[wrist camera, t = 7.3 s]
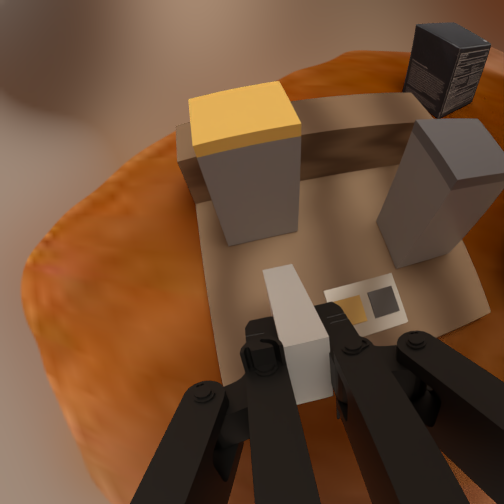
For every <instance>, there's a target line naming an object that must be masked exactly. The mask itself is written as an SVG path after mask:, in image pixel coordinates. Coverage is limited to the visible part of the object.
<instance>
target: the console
mask: <svg viewBox="0 0 504 504" xmlns="http://www.w3.org/2000/svg"><path fill="white" fill-rule="evenodd" d="M291 104H292V106H293V108H294V110H295V112H296V114H297V116H298V118H299V120H300V122H301V164H300V192H299V215H298V231H296V232H291V233H287V234H282V235H277V236H273V237H268V238H264V239H259V240H255V241H250V242H246V243H242V244H237V245H233V246H228V243H227V241H226V238H225V235H224V232H223V230H222V227H221V224H220V221H219V219H218V216H217V213H216V210H215V208H214V205H213V202H212V199H211V196H210V194H209V191H208V188H207V185H206V182H205V180H204V177H203V174H202V171H201V168H200V166H199V163H198V160H197V157H196V154H195V151H194V148H193V145H192V134H191V123H190V122H189V123H185V124H181V125H178V126H176V145H177V162H178V165H179V167H180V169H181V172H182V174H183V176H184V179H185V181H186V183H187V185H188V188H189V190H190V192H191V195H192V197H193V199H194V202H195V204H196V212H197V220H198V228H199V236H200V244H201V252H202V259H203V266H204V274H205V281H206V288H207V294H208V301H209V307H210V314H211V320H212V326H213V332H214V338H215V344H216V350H217V356H218V361H219V367H220V372H221V378H222V383H223V387H224V386H226V385H229V384H231V383H233V382H235V381H237V380H239V379H240V378H241V377H242V376H243V375H244V374H245V370H244V367H243V363H242V360H241V357H240V350H241V348H242V346H243V345H244V344H245V343H246V336H245V327H246V325H247V324H248V322H249V321H250V320H255V319H260V318H265V317H270V316H272V315H271V310H270V305H269V300H268V295H267V290H266V285H265V280H264V275H263V270H265V269H270V268H275V267H279V266H284V265H289V264H292V265H293V267H294V269H295V270H296V272H297V274H298V276H299V278H300V280H301V282H302V284H303V286H304V288H305V290H306V292H307V294H308V296H309V298H310V300H311V302H312V304H313V306H315V305H319V304H323V303H328V302H334V303H335V304H337V305H339V306H340V307H341V308H342V310H343V311H344V313H345V314H346V316H347V317H348V319H349V320H350V322H351V323H352V325H353V326H354V328H355V329H356V331H357V333H358V334H359V336H361V337H364V338H367V339H369V340H370V341H371V342H372V343H373V345H375V346H390V345H397V341H398V338H399V337H400V336H401V335H402V334H404V333H406V332H409V331H416V330H417V331H424V332H427V333H429V334H431V335H432V336H434V337H435V338H437V337H439V336H442V335H444V334H446V333H449V332H451V331H453V330H455V329H458V328H460V327H462V326H464V325H466V324H468V323H471V322H473V321H475V320H477V319H479V318H481V317H483V316H485V315H486V314H488V313H490V312H491V310H490V307H489V304H488V302H487V299H486V296H485V293H484V291H483V288H482V285H481V283H480V280H479V278H478V275H477V273H476V270H475V268H474V265H473V263H472V261H471V258H470V256H469V254H468V252H467V249H466V247H465V245H464V243H463V241H462V240H461V241H460V242H459V243H458V244H457V245H456V246H455V247H454V248H453V249H452V251H451V252H450V253H448V254H445V255H442V256H438V257H435V258H432V259H429V260H425V261H422V262H419V263H415V264H412V265H408V266H405V267H401V268H398V269H396V268H395V265H394V263H393V260H392V258H391V255H390V253H389V250H388V248H387V245H386V243H385V240H384V238H383V236H382V233H381V231H380V229H379V226H378V224H377V222H376V220H377V218H378V216H379V213H380V211H381V209H382V206H383V204H384V202H385V199H386V197H387V194H388V192H389V190H390V187H391V185H392V182H393V180H394V177H395V175H396V172H397V170H398V167H399V164H400V162H401V159H402V157H403V154H404V151H405V148H406V146H407V143H408V140H409V137H410V135H411V132H412V129H413V126H414V123H415V120H421V119H433V117H432V116H431V115H430V114H429V113H428V111H427V110H426V109H425V108H424V107H423V105H422V104H421V103H420V102H419V101H418V100H417V99H416V97H415V96H414V95H413V94H412V93H374V94H357V95H344V96H333V97H323V98H314V99H306V100H299V101H292V102H291Z"/></svg>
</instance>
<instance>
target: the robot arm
mask: <svg viewBox="0 0 504 504" xmlns="http://www.w3.org/2000/svg"><path fill="white" fill-rule="evenodd" d="M263 275H264V280H265V285H266V290H267V295H268V300H269V305H270V310H271V315H272V316H270V317H265V318H260V319H255V320H250V321H249V322H248V324H247V325H246V327H245V336H246V343H245V344H244V345H243V346H242V348H241V350H240V357H241V360H242V363H243V367H244V370H245V374H244V375H243V376H242V377H241V378H240V379H239V380H237V381H235V382H233V383H231V384H229V385H226V386H224V387H223V386H222V385H221V384H220V383H218V382H215V381H202V382H200V383H197V384H194V385H193V386H191V387H190V388H189V389H188V390H187V391H186V392H185V394H184V396H183V398H182V400H181V402H180V404H179V406H178V408H177V410H176V412H175V414H174V416H173V418H172V420H171V422H170V424H169V426H168V428H167V430H166V432H165V434H164V436H163V438H162V440H161V442H160V444H159V446H158V448H157V450H156V452H155V454H154V456H153V458H152V460H151V462H150V464H149V466H148V468H147V470H146V473H145V475H144V477H143V479H142V481H141V483H140V485H139V487H138V489H137V491H136V493H135V495H134V497H133V499H132V501H131V503H130V504H227V503H228V500H229V496H230V493H231V489H232V486H233V482H234V478H235V475H236V471H237V467H238V464H239V460H240V456H241V452H242V448H243V445H244V441H245V440H247V439H250V446H251V459H252V472H253V484H254V497H255V504H321V502H320V498H319V494H318V490H317V486H316V482H315V477H314V473H313V469H312V465H311V461H310V457H309V453H308V449H307V445H306V441H305V436H304V432H303V428H302V424H301V420H300V416H299V412H298V408H297V405H298V404H302V403H306V402H311V401H315V400H319V399H323V398H327V397H330V396H333V389H334V392H335V394H336V406H337V419H339V418H340V416H341V419H342V421H343V424H344V427H345V430H346V432H347V435H348V438H349V440H350V443H351V446H352V449H353V451H354V454H355V457H356V460H357V462H358V465H359V468H360V471H361V473H362V476H363V479H364V482H365V485H366V487H367V490H368V493H369V496H370V499H371V502H372V504H470V503H469V501H468V499H467V497H466V496H465V494H464V492H463V490H462V488H461V486H460V485H459V483H458V481H457V479H456V477H455V476H454V474H453V472H452V470H451V468H450V467H449V465H448V463H447V461H446V460H445V458H444V456H443V455H442V453H441V451H442V452H443V453H444V454H445V455H446V456H447V457H448V458H449V459H450V460H451V461H453V462H454V463H455V464H456V465H457V466H458V467H459V468H460V469H461V470H462V471H463V472H464V473H465V474H466V475H467V476H468V477H469V478H470V479H471V480H473V481H474V482H475V483H476V484H477V485H478V486H479V487H480V488H481V489H482V490H483V491H484V492H485V493H486V494H487V495H488V496H489V497H491V498H492V499H493V500H494V501H495V502H496V503H497V504H504V382H502V381H501V380H499V379H498V378H496V377H495V376H493V375H492V374H490V373H489V372H487V371H486V370H484V369H483V368H481V367H480V366H478V365H477V364H475V363H474V362H472V361H471V360H469V359H468V358H466V357H465V356H463V355H462V354H460V353H459V352H457V351H455V350H454V349H452V348H451V347H449V346H448V345H446V344H445V343H443V342H442V341H440V340H439V339H437V338H435V337H434V336H432V335H431V334H429V333H427V332H424V331H417V330H416V331H409V332H406V333H404V334H402V335H401V336H400V337H399V338H398V341H397V345H390V346H375V345H373V343H372V342H371V341H370V340H369V339H367V338H364V337H361V336H359V334H358V333H357V331H356V329H355V328H354V326H353V325H352V323H351V322H350V320H349V319H348V317H347V316H346V314H345V313H344V311H343V310H342V308H341V307H340V306H339V305H337V304H335V303H334V302H328V303H323V304H319V305H315V306H313V304H312V302H311V300H310V298H309V296H308V294H307V292H306V290H305V288H304V286H303V284H302V282H301V280H300V278H299V276H298V274H297V272H296V270H295V269H294V267H293V265H292V264H289V265H284V266H279V267H275V268H270V269H265V270H263ZM440 450H441V451H440Z"/></svg>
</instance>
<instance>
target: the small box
mask: <svg viewBox="0 0 504 504" xmlns="http://www.w3.org/2000/svg"><path fill="white" fill-rule="evenodd" d="M490 47H491V43H489V42H487V41H486V40H484V39H483V38H481V37H479V36H477V35H475V34H474V33H472V32H471V31H469V30H467V29H465V28H463V27H462V26H460V25H458V24H456V23H431V24H430V23H429V24H416V29H415V35H414V40H413V46H412V51H411V56H410V61H409V66H408V70H407V75H406V79H405V83H404V88H403V93H412V94H413V95H414V96H415V97H416V99H417V100H418V101H419V102H420V103H421V104H422V105H423V107H424V108H425V109H426V110H427V111H428V112H430V113H431V114H432V115H433V116H435V117H436V118H437V119H440V118H441V117H444V116H446V115H447V114H449V113H451V112H453V111H455V110H457V109H459V108H461V107H463V106H465V105H467V104H469V103H471V102H472V100H473V97H474V95H475V91H476V89H477V86H478V83H479V80H480V77H481V74H482V72H483V69H484V66H485V63H486V60H487V57H488V54H489V50H490Z"/></svg>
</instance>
